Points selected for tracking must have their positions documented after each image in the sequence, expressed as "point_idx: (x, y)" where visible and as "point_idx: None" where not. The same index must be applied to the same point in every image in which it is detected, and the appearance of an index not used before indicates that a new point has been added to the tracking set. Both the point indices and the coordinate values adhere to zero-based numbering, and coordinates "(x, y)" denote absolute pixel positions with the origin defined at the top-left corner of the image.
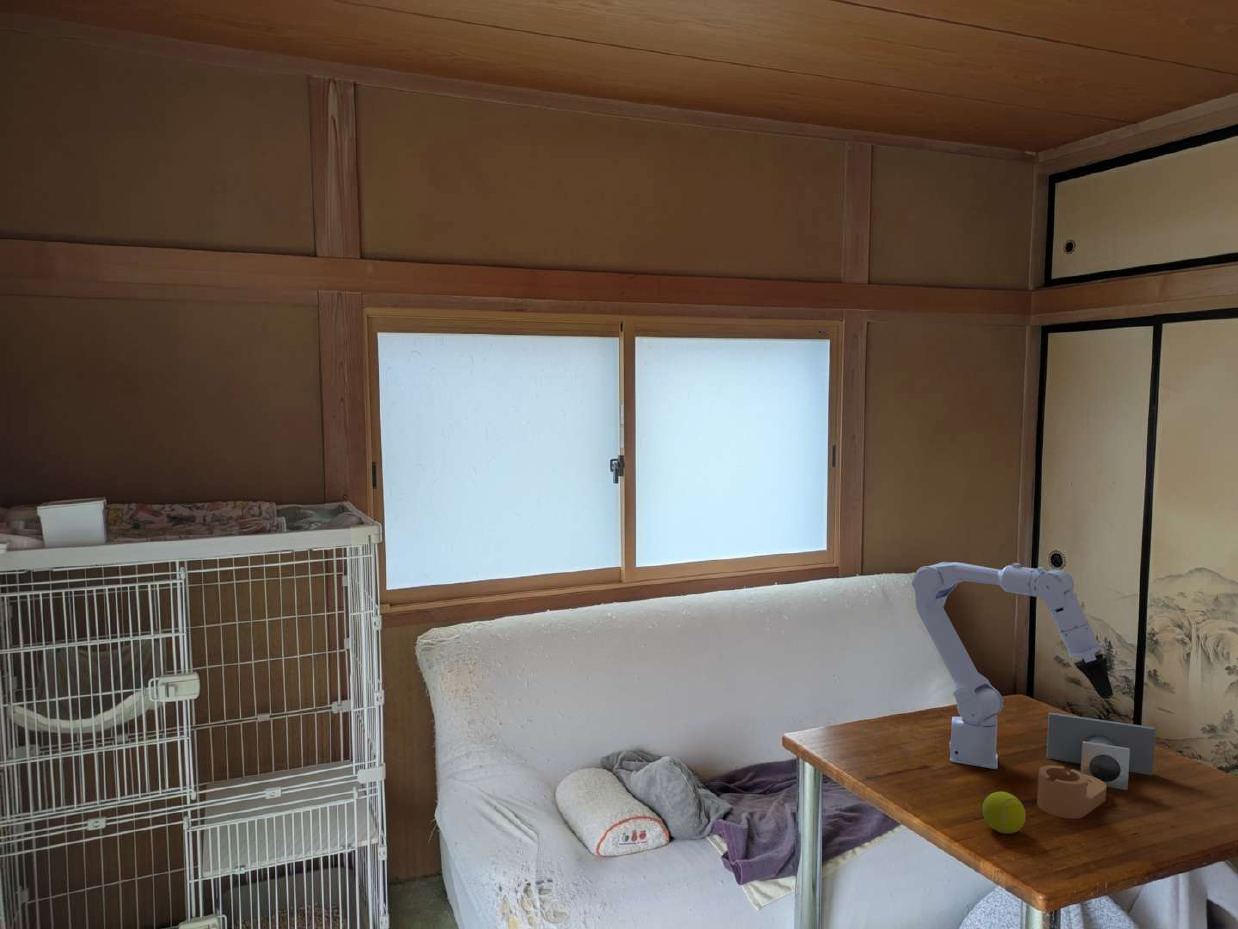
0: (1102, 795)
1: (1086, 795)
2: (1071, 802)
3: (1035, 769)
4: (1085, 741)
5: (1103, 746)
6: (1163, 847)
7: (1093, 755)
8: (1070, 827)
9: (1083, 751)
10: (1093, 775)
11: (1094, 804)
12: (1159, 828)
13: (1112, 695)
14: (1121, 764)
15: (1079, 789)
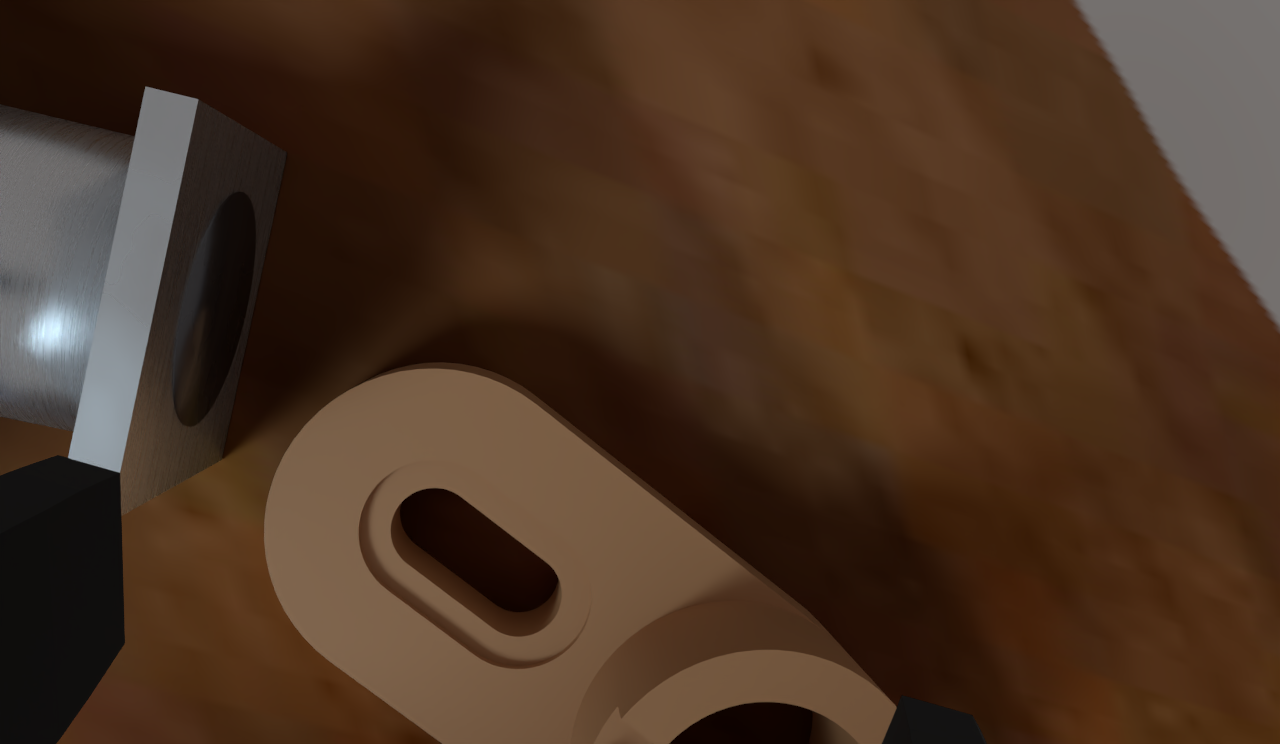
0: (569, 426)
1: (786, 618)
2: None
3: None
4: None
5: (147, 334)
6: (1121, 253)
7: (167, 408)
8: None
9: (142, 496)
10: (220, 384)
11: (673, 507)
12: (872, 171)
13: (978, 729)
14: (227, 182)
15: None
